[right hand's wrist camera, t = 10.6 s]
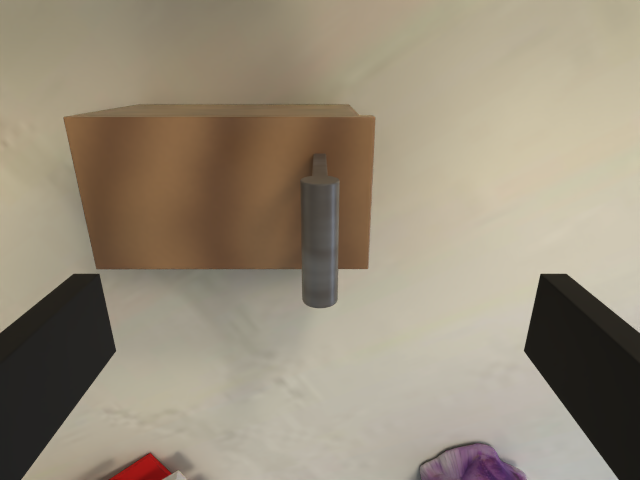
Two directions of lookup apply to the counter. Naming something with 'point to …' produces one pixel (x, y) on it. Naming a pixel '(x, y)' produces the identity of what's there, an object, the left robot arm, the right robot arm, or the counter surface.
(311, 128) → the door
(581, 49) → the counter surface
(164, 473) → the toy
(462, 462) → the figurine
